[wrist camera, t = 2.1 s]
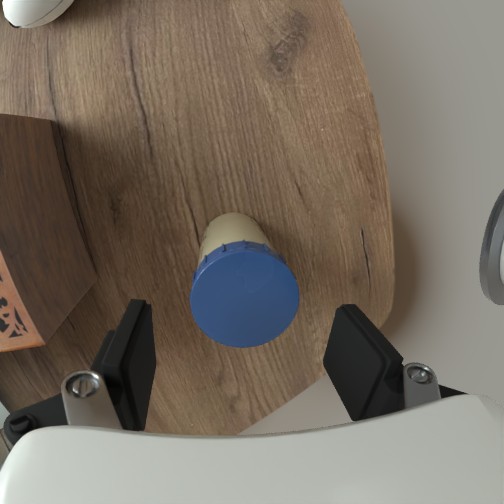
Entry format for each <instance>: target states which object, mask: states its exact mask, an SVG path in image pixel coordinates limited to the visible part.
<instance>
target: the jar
mask: <svg viewBox="0 0 504 504" xmlns="http://www.w3.org/2000/svg"><path fill="white" fill-rule="evenodd" d="M243 240H245V241H251V242H256V243H260V244H263V243H265V244H266V246H268V247H269V248H271V249H273V250H274V251H275V249H274V248H273V246H272V244H271V243H270V241H269V240H268V238H267V236H266V235H265V233H264V232H263V230H262V229H261V227H260V226H259V224H258V223H257V222H256V221H255V220H254V219H252V218H251V217H249V216H247V215H245V214H241V213H226V214H223V215H220V216H218V217H216V218H215V219H214V220H212V221H211V222H210V223H209V224H208V226H207V227H206V229H205V230H204V233H203V236H202V240H201V246H200V253H199V259H198V266H199V264H200V263H201V262H202V260H203V259H204V256H205V255H208V254H209V253H211V252H212V251H213V250H215V249H216V248H218V247H220V246H222V244H223V243H224V245H225V244H228V243H231V242H237V241H243ZM275 252H276V251H275ZM198 266H197V268H198Z"/></svg>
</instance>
